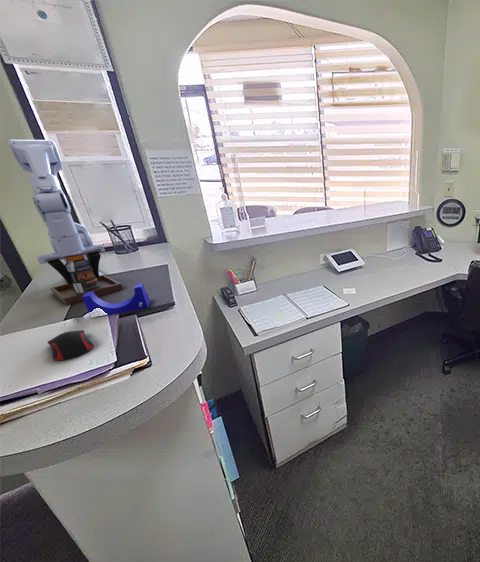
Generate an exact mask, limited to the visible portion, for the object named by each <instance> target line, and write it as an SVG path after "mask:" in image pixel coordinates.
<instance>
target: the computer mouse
mask: <svg viewBox="0 0 480 562" xmlns="http://www.w3.org/2000/svg"><path fill="white" fill-rule="evenodd" d="M47 344H48V345H49V347H51V349H52V359H53V360H54V361H57V362H60V361H66V360H70V359H73V358H77V357H79V356H81V355H84V354H86V353H88V352H90V351H91V350H92V349H93V348H94V346H95V345H94V343H93V342H92V341H91V340H90V339H89V338H87V336H86V333H85V330H84V329H81V330H69V331H64V332H62V333H60V334H57V336H55V337H53V338H52V339H49V340H48V341H47Z"/></svg>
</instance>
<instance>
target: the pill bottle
mask: <svg viewBox="0 0 480 562" xmlns="http://www.w3.org/2000/svg"><path fill="white" fill-rule="evenodd" d="M65 258H66V261H67V263H64V267H65V269H66V272H67V274H68V276H69V278H70V280H71V282H72V284H71V285H72V288H73V290H74V292H75V293H85V292H89V291H92V290H96V289H98V288H99V287H100V286H99V283H98V281H97V278H96V275H95V273H94V270H93V267H92V265H91V262H90V261H88V260H85V259H84V256H83V254H81V253H80V254H77V255H70V256H65Z"/></svg>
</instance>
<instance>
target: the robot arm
mask: <svg viewBox="0 0 480 562" xmlns="http://www.w3.org/2000/svg"><path fill="white" fill-rule="evenodd" d="M8 146H9V148H10V151H11V153H12V155H13V157H14V159H15V160H16V162H17V163H18V165H19V166H20V167H21V168H22V170H23V171H25V172H29V173H32V175H31V176H30V177H29V182H30V185H31V189H32V193H33V195H34V196H33V195H32V196H31V197H32V203H33V205H34V207H35V209H36V211H37V212H38V214H39V215H40V217H41V219H42V221H43V222H44V223H45V226H46V228H47V230H48V231H47V235H48V240H49V242H50V245H51V248H52V249H53V251H54V252H51V253H46V254H43V255H37V256H36V257H35V258H36V260H37V262H38V263H39V264H40V265H44V264H46V263H47V265H49V266H51V267H52V268H53V269H54V270H55V271H57V273H59V275H60V276H61V277H62V278H63V279H64V280H65V282H66V284H72V282H71V280H70V278H69V276H68V274H67V272H66V269H65V267H64V265H65V264H66V263H67V261H66V258H65V256H70V255H77V254H80V253H81V254H83V256H84V259H85V260H88V261H90V262H91V265H92V267H93V270H94V273H95V275H96V277H99V276H101V275H105V274H104V273H102V272H101V271H100V270H99V268H100V267H99V266H100V261H101V253H104V252H106V250H105V247H104V245H103V244H97V245H94V242H93V239H92V236H91V234H90V232H89V229H88V228H87V227H86V226H85V225H83V224H80V223H78V222H74V219H73V216H72V214H71V212H72V210H71V209H72V208H71V206H70V203H69V201H68V198H67V196H66V194H65V193H64V191H63V189H62V187H61V183H60V181H59V178H58V172H60V171H62V170H63V169H64V168H63V162H62V158H61V155H60V153H59V150H58V147H57V144H56V143H55V141H54V140H52V139H13V138H10V139H9V140H8ZM62 260H63V261H64V262H62Z"/></svg>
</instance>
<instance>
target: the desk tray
mask: <svg viewBox="0 0 480 562" xmlns="http://www.w3.org/2000/svg"><path fill="white" fill-rule="evenodd" d="M96 278H97V281H98V283H99V286H100V287H99V288H98V289H96V290H92V291H89V292H93V291H94V293H95V295H96V296H97V297H101V296H104V295H108V294H112V293H114V292H119V291H122V290H124V288H123V286H122V283H121V282H119V281H117V280H115V279H113V278H111V277H109V276H107V275H106V274H104V275H101V276H99V277H96ZM50 290H51V293H52V294H53V296H55V297H56V298H57V299H59V300H60V302H62V303H63V304H65V306H69V305H72V304H76V303H79V302H84V300H83V298H82V297H83V295H84V294H85V293H87V292H85V293H75V292H74V290H73V288H72V285H71V284H68V283H65V284H61V285H56V286H53V287H52V286H51V287H50Z"/></svg>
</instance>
